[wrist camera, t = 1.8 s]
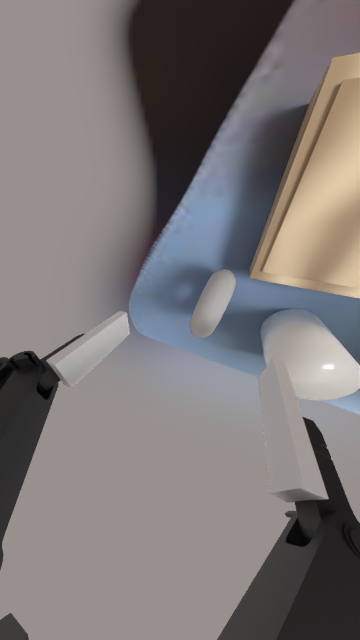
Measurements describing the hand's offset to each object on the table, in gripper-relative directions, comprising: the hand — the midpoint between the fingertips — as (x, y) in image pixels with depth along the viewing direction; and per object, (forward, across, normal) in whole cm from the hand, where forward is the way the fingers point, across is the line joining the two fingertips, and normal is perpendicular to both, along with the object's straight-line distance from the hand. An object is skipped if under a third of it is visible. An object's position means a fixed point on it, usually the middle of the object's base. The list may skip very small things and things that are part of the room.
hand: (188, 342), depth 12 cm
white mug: (+14, -13, +5) cm, 20 cm away
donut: (+14, -1, 0) cm, 14 cm away
